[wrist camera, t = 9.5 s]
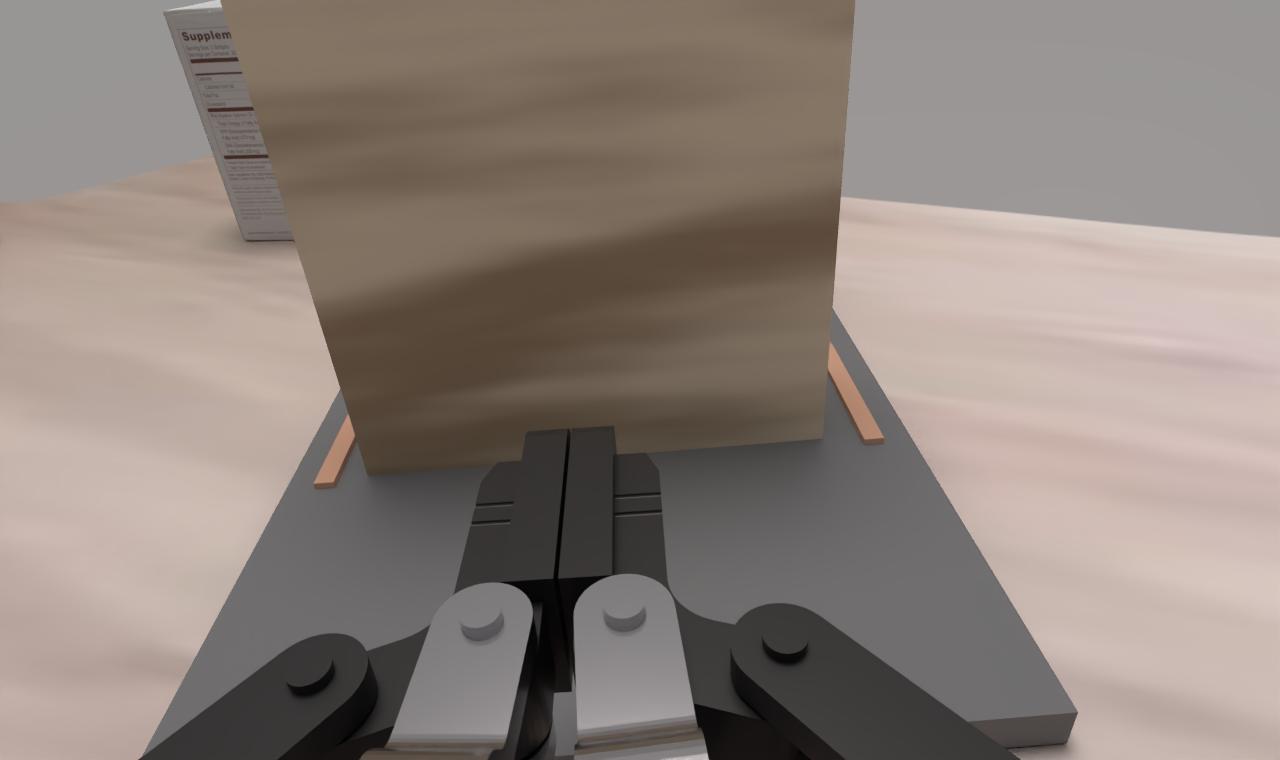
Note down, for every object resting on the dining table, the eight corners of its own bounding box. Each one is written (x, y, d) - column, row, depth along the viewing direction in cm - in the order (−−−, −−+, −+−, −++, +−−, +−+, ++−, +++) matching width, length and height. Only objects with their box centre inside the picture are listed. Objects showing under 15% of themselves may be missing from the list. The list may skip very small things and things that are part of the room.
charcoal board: (1066, 742, 16) (1080, 706, 15) (142, 820, 16) (118, 787, 15) (800, 277, 36) (802, 253, 36) (399, 308, 36) (393, 284, 36)
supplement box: (300, 202, 52) (238, -6, 45) (404, 200, 51) (356, -14, 44) (238, 242, 46) (156, 8, 39) (356, 241, 45) (291, -1, 38)
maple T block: (822, 438, 24) (862, -95, 16) (367, 475, 24) (205, -47, 16) (753, 281, 34) (758, -90, 27) (436, 306, 34) (355, -61, 27)
